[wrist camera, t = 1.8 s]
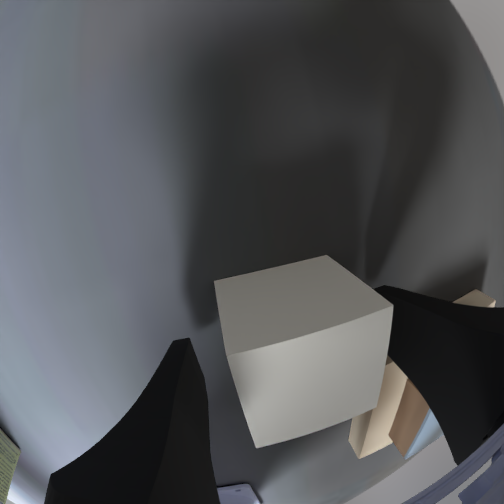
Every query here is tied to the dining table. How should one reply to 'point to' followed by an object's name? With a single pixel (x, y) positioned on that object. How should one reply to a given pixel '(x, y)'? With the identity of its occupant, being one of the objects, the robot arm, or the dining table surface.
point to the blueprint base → (390, 396)
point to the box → (7, 464)
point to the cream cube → (303, 346)
